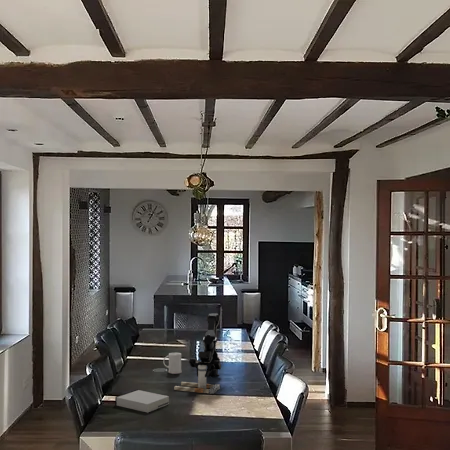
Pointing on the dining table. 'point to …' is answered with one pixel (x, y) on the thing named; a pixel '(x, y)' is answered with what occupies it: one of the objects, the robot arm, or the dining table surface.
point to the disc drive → (141, 400)
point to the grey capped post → (202, 376)
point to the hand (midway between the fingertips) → (201, 376)
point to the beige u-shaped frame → (201, 390)
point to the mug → (174, 363)
